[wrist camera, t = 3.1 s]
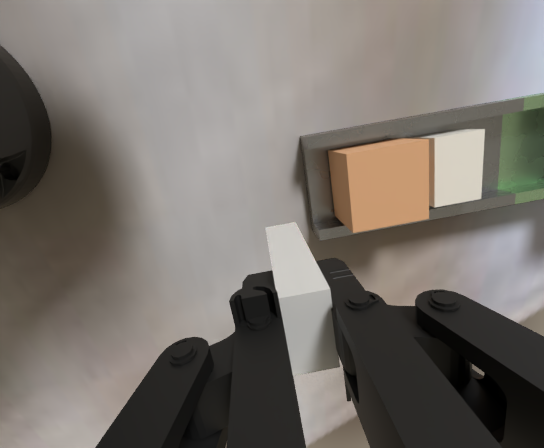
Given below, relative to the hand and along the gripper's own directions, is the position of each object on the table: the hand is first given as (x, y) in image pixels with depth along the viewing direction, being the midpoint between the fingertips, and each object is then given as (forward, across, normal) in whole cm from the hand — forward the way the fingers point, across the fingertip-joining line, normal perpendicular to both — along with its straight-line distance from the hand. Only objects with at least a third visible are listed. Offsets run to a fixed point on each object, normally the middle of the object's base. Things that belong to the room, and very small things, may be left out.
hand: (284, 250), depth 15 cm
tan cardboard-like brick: (+12, +9, 0) cm, 15 cm away
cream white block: (+13, +15, 0) cm, 20 cm away
